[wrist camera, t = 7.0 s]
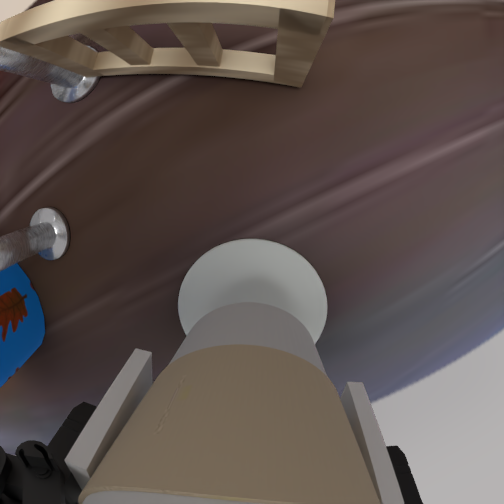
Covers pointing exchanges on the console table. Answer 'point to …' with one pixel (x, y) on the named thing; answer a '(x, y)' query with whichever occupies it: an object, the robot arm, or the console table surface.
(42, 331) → the thermos
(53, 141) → the console table surface
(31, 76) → the hinge post
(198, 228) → the console table surface
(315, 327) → the coaster
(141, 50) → the gate
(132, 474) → the coffee cup
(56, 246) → the post
